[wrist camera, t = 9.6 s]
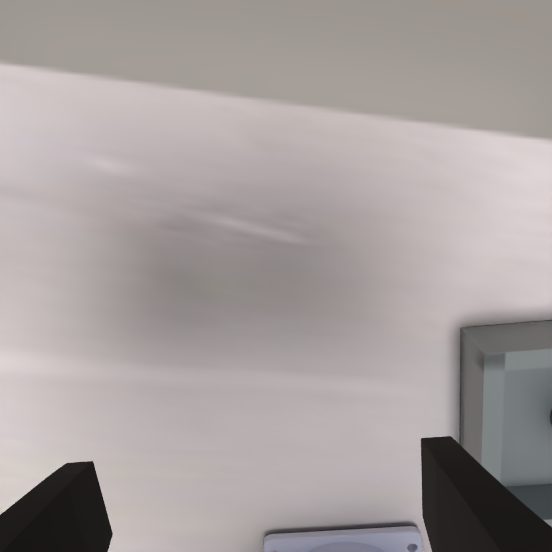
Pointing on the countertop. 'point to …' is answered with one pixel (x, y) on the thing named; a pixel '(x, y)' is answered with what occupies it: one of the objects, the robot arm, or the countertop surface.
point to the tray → (510, 407)
